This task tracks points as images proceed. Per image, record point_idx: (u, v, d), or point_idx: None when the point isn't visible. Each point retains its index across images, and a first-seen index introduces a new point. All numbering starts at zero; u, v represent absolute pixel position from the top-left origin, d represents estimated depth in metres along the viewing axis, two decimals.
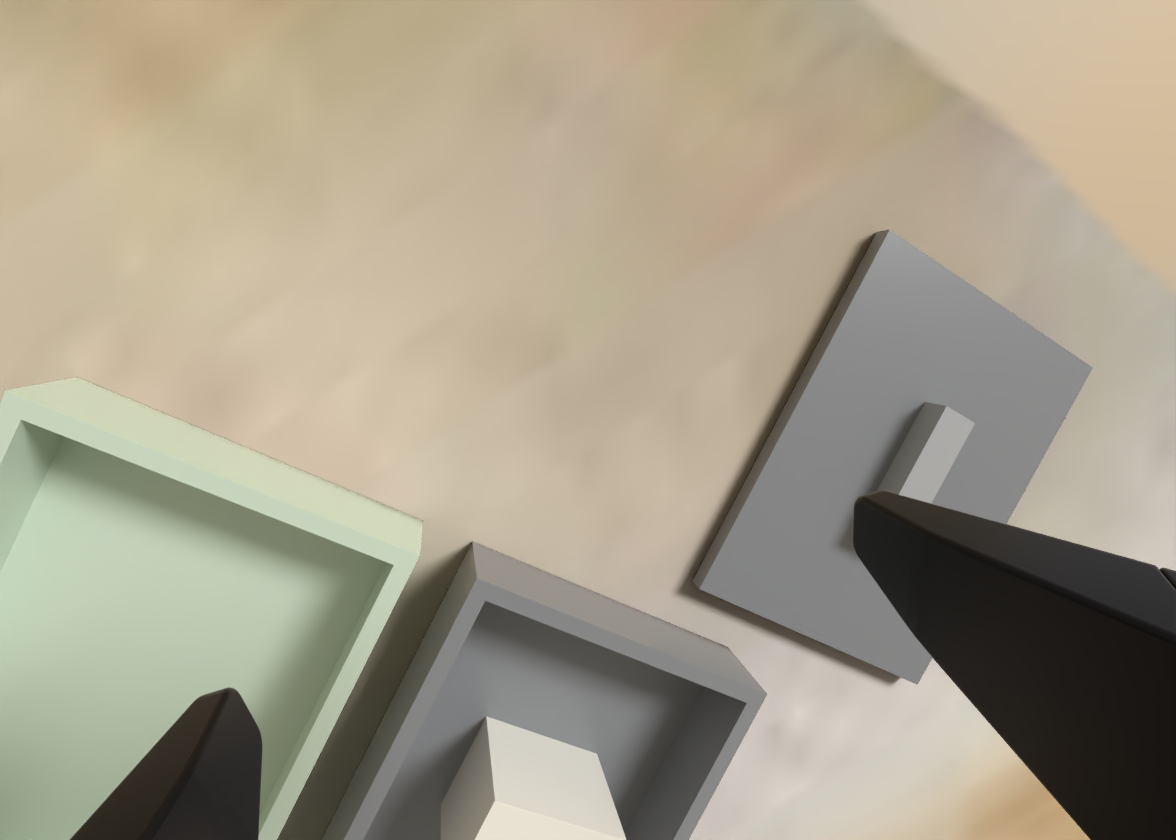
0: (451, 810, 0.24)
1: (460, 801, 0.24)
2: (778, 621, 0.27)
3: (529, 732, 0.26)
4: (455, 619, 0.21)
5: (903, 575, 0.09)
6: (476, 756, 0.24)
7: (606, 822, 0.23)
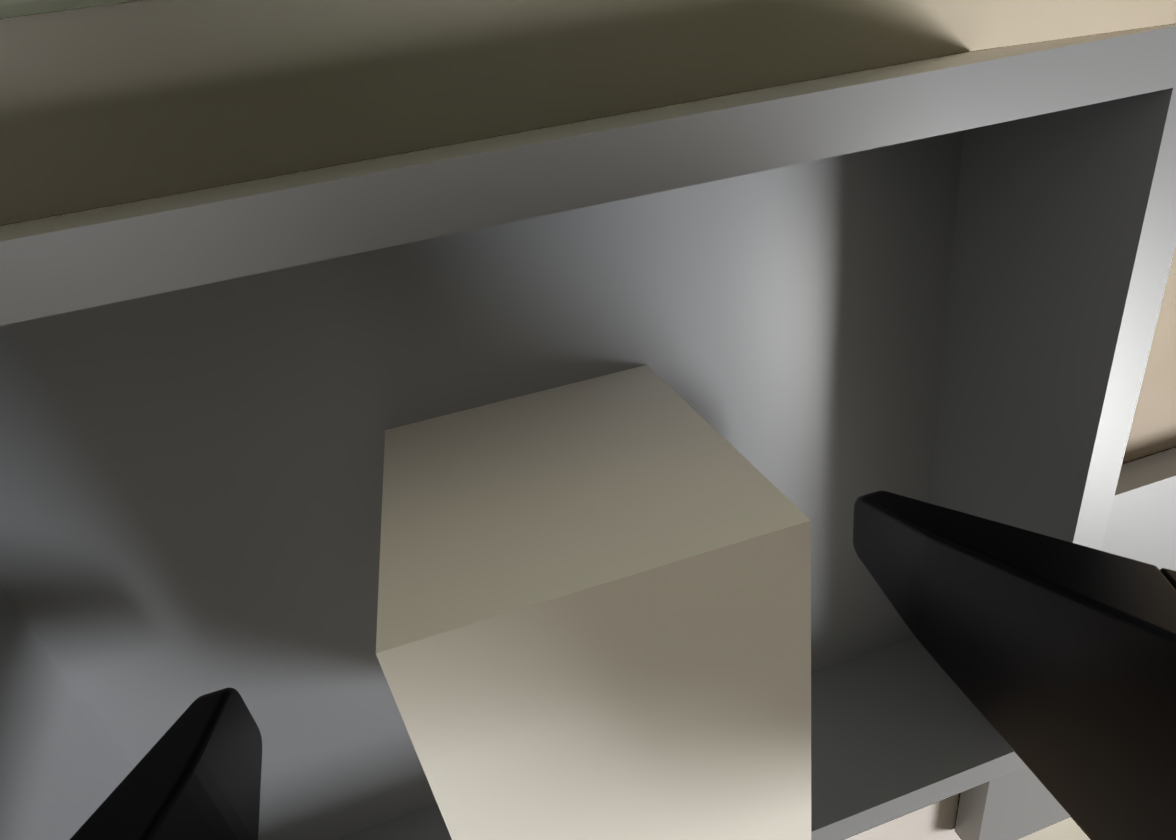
0: (458, 456, 0.08)
1: (517, 455, 0.08)
2: None
3: None
4: (1104, 39, 0.07)
5: (903, 575, 0.09)
6: (605, 406, 0.09)
7: None
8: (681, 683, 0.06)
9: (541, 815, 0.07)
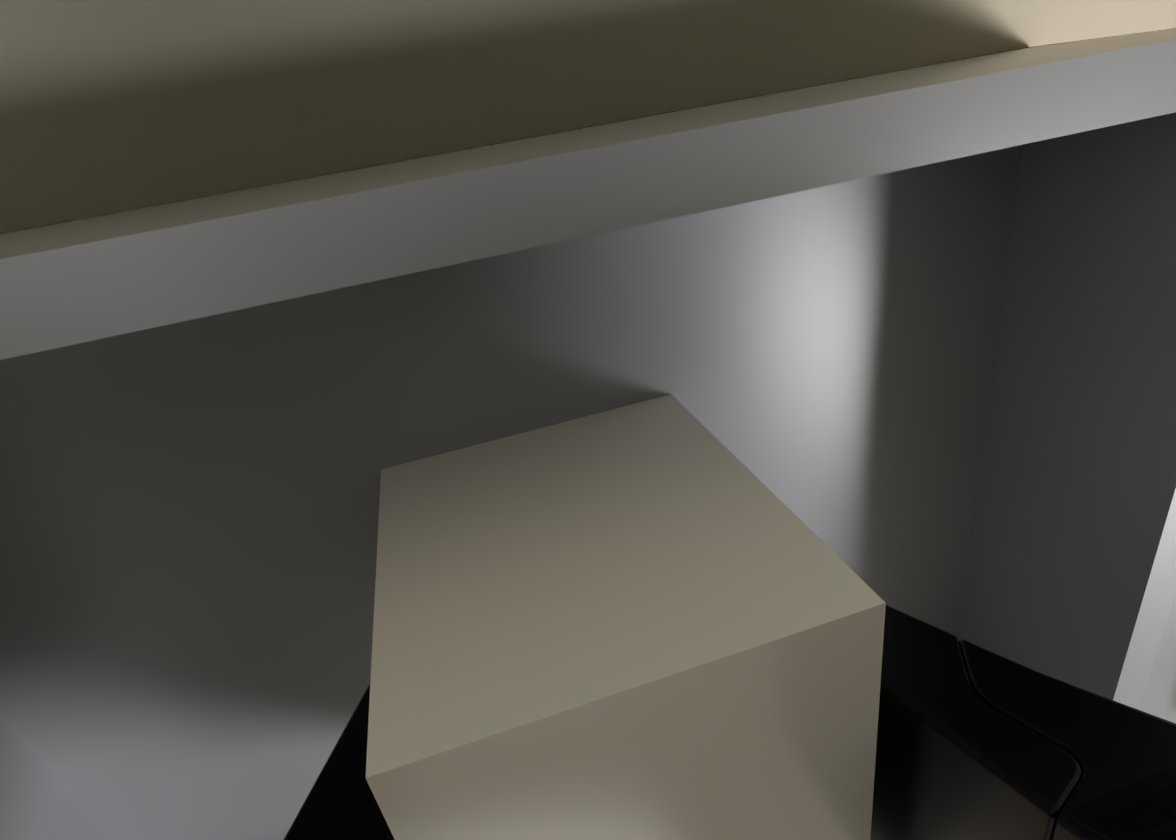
0: (463, 504, 0.07)
1: (530, 506, 0.07)
2: None
3: None
4: None
5: None
6: (628, 445, 0.08)
7: None
8: (728, 789, 0.05)
9: None
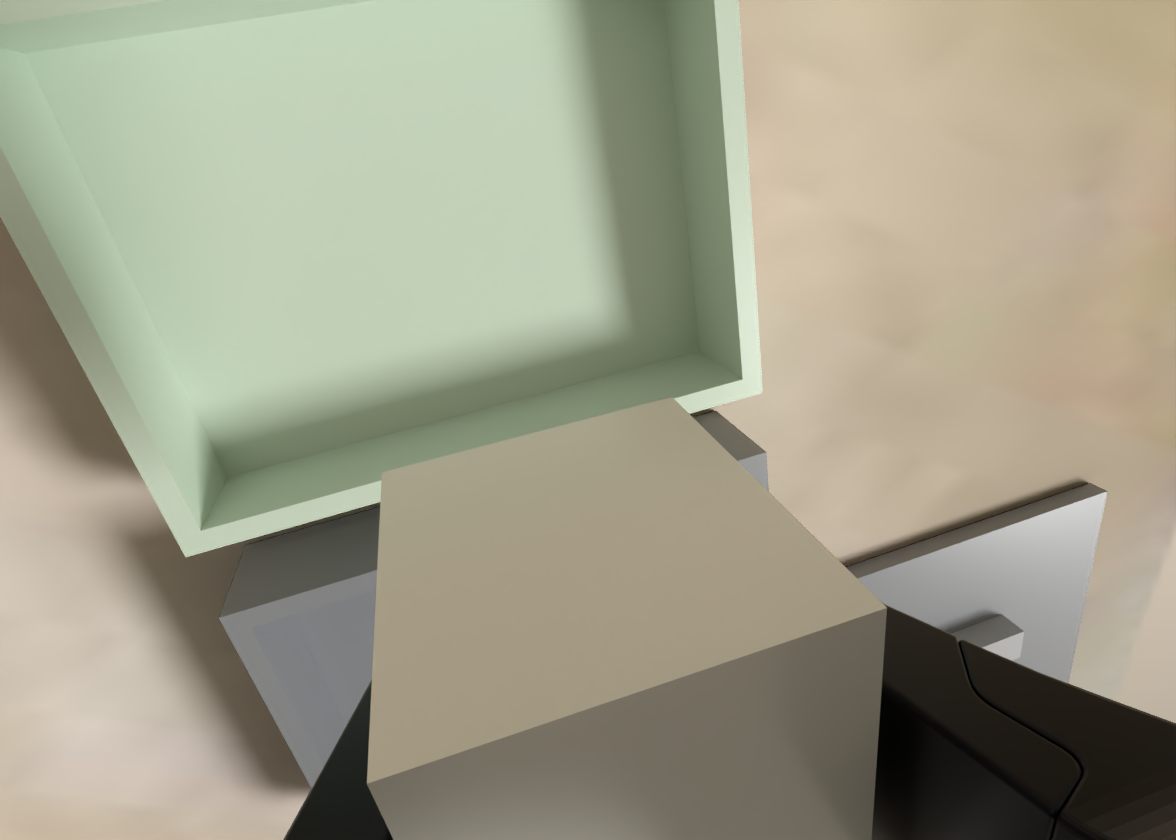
0: (464, 508, 0.07)
1: (531, 510, 0.07)
2: None
3: None
4: None
5: None
6: (629, 448, 0.08)
7: None
8: (728, 793, 0.05)
9: None
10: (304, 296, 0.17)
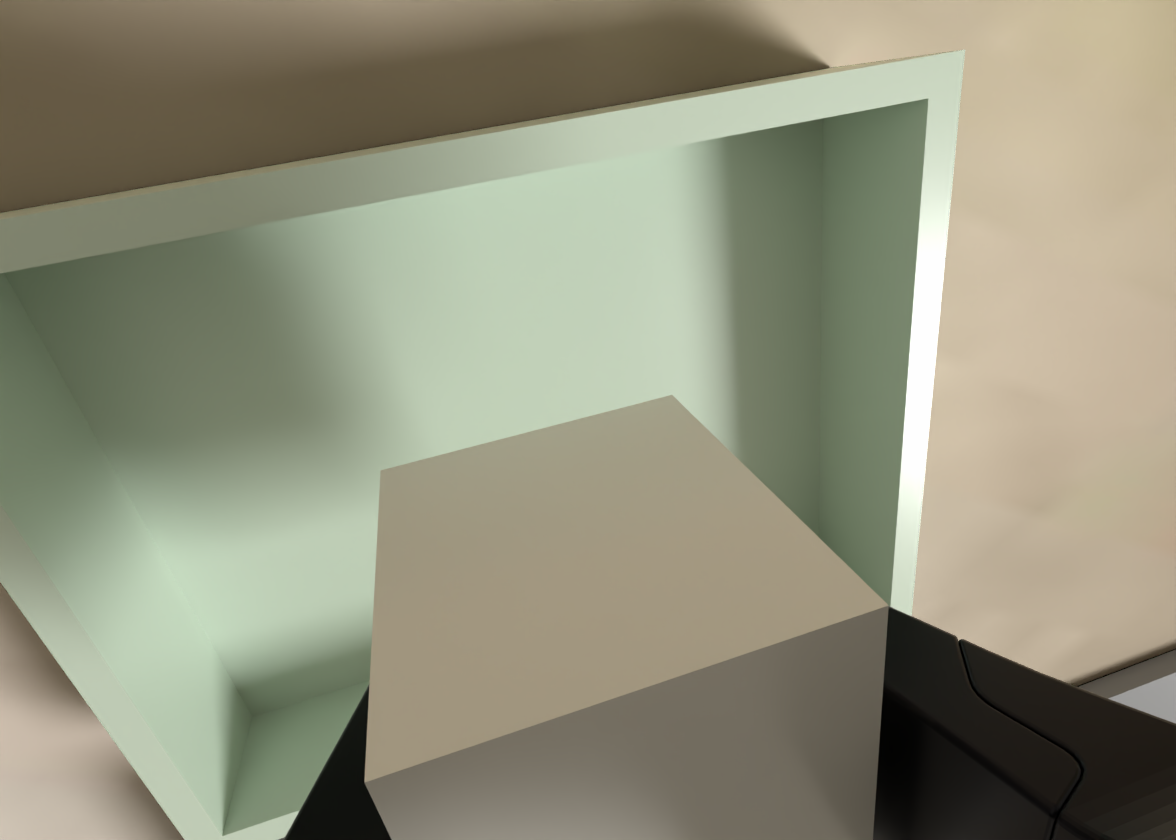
0: (464, 506, 0.07)
1: (530, 508, 0.07)
2: None
3: None
4: None
5: None
6: (629, 446, 0.08)
7: None
8: (729, 791, 0.05)
9: None
10: (355, 516, 0.14)
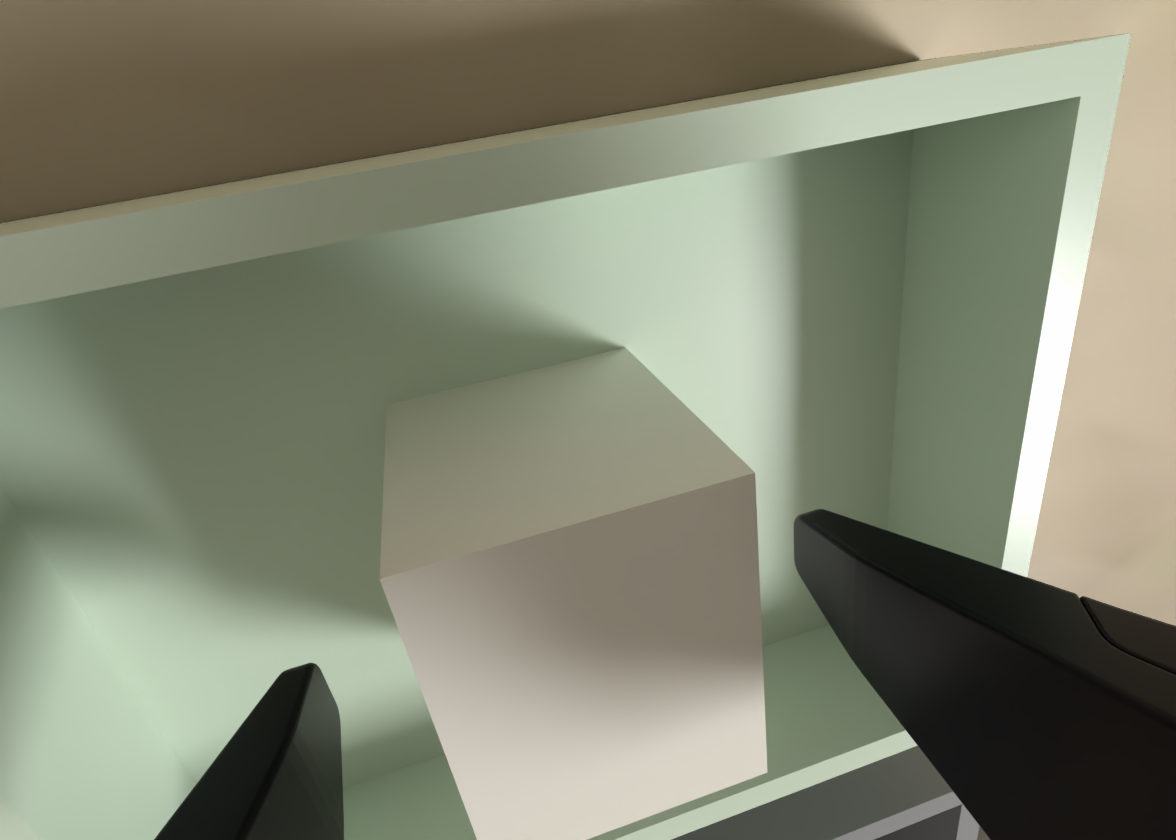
0: (453, 425, 0.09)
1: (506, 424, 0.09)
2: None
3: None
4: (923, 799, 0.14)
5: (838, 596, 0.09)
6: (586, 383, 0.10)
7: None
8: (644, 617, 0.07)
9: (523, 734, 0.08)
10: (345, 599, 0.11)
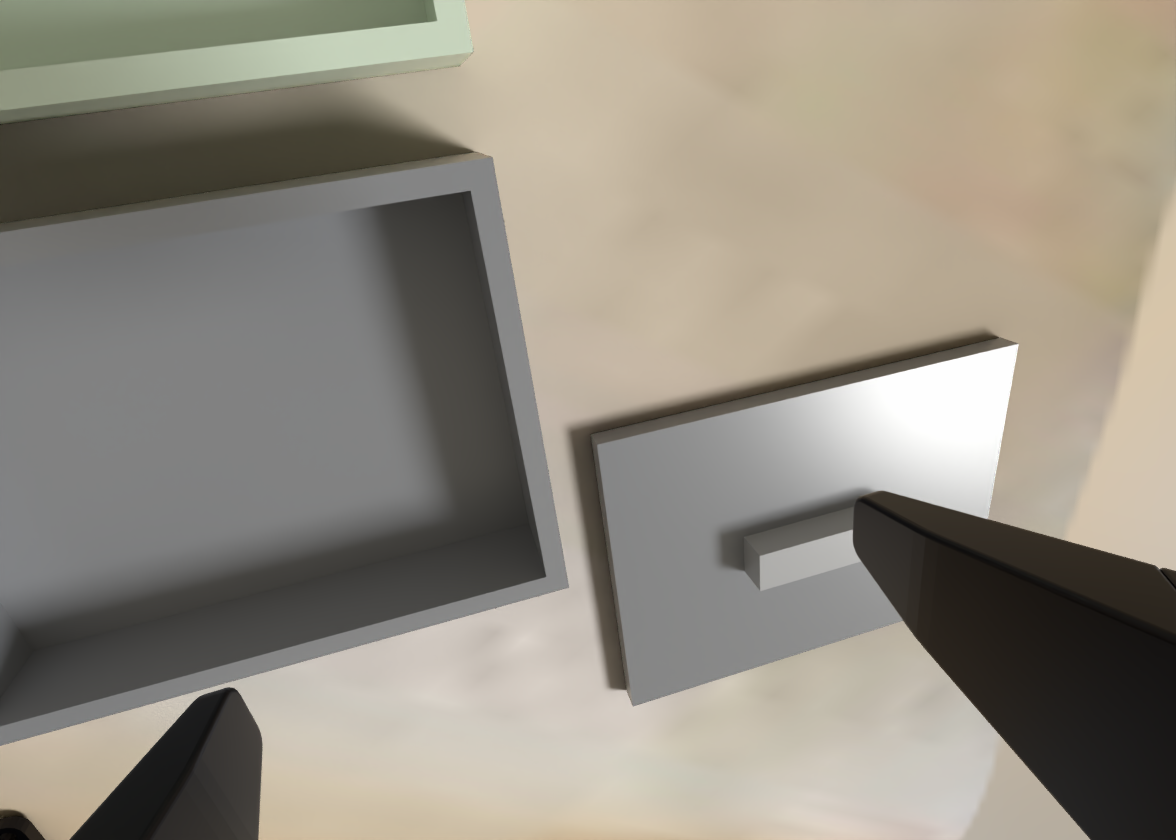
0: None
1: None
2: (613, 544, 0.23)
3: None
4: (419, 168, 0.14)
5: (903, 575, 0.09)
6: None
7: None
8: None
9: None
10: None
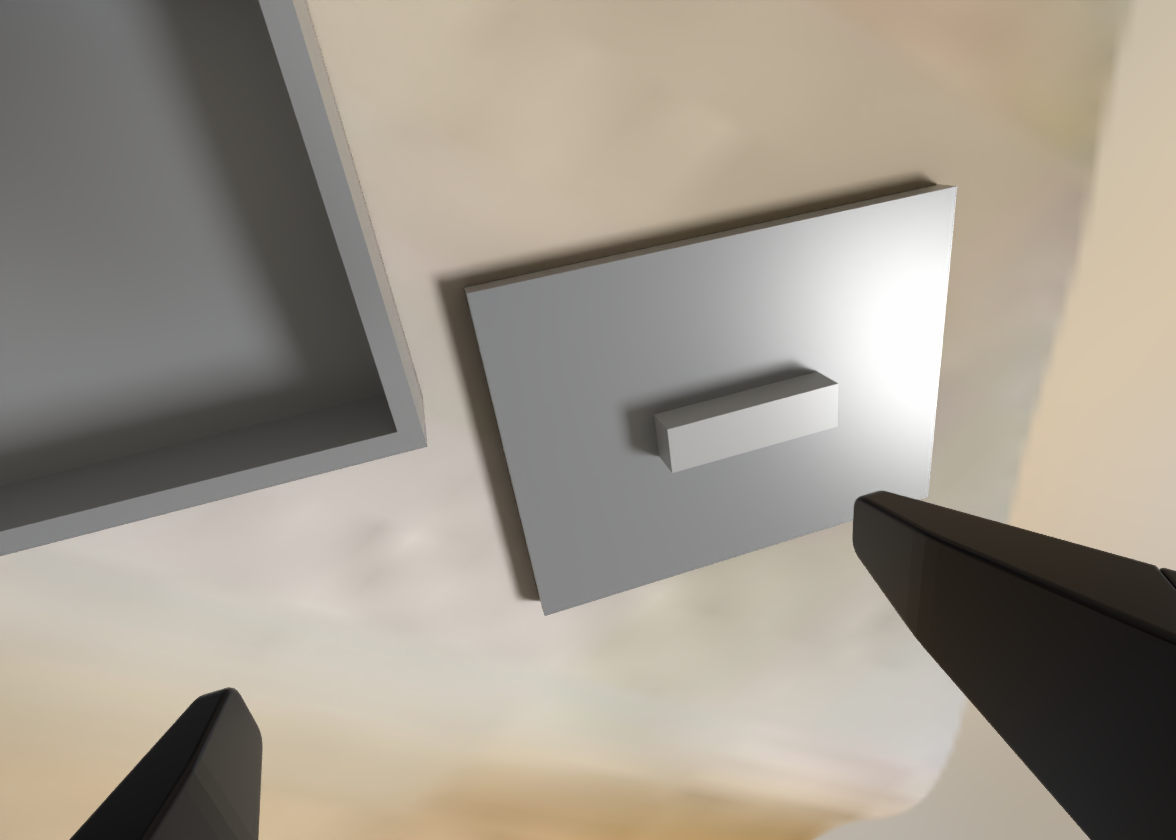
0: None
1: None
2: (499, 419, 0.20)
3: None
4: None
5: (903, 575, 0.09)
6: None
7: None
8: None
9: None
10: None
